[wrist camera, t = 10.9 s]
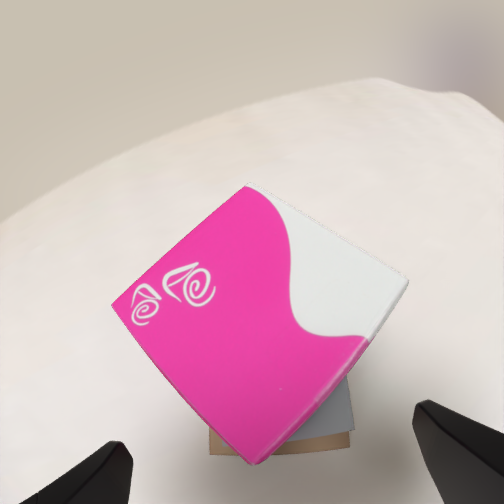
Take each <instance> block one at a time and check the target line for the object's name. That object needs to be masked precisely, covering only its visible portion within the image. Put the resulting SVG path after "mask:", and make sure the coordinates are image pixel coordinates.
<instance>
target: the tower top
mask: <svg viewBox="0 0 504 504" xmlns="http://www.w3.org/2000/svg"><path fill="white" fill-rule="evenodd" d="M351 430H355V428H354V421H353V414H352V408H351V401H350V395H349V389H348V383H347V377H346V376H345V377H344V378H343V380H342V381H341V382H340V383H339V384H338V386H337V387H336V388H335V389H334V390H333V392H332V393H331V394H330V395H329V396H328V397H327V398H326V400H325V401H324V402H323V403H322V404H321V405H320V407H319V408H318V409H317V410H316V411H315V412H314V413H313V414H312V415H311V416H310V417H309V418H308V419H307V420H306V422H305V423H304V424H303V425H302V426H301V427H300V428H299V429H298V430H297V431H296V432H295V433H294V434H293V435H292V436H291V437H290V438H289V439H288V440H287V441H286V442H288V441H295V440H302V439H309V438H315V437H321V436H326V435H332V434H337V433H342V432H346V431H351ZM226 446H228V445H227V444H226V443H225V442H224V441H223V440H222V447H226Z"/></svg>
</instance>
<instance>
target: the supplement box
mask: <svg viewBox="0 0 504 504" xmlns="http://www.w3.org/2000/svg"><path fill="white" fill-rule="evenodd" d="M408 283H409V280H408V279H407V278H406V277H405V276H404V275H402V274H401V273H399V272H397V271H396V270H394V269H393V268H391V267H390V266H388V265H386V264H385V263H383V262H382V261H380V260H378V259H377V258H375V257H374V256H372V255H370V254H369V253H367V252H366V251H364V250H362V249H361V248H359V247H358V246H356V245H354V244H353V243H351V242H349V241H348V240H346V239H345V238H343V237H341V236H340V235H338V234H336V233H335V232H333V231H332V230H330V229H328V228H327V227H325V226H323V225H322V224H320V223H319V222H317V221H315V220H314V219H312V218H311V217H309V216H307V215H306V214H304V213H302V212H301V211H299V210H298V209H296V208H294V207H293V206H291V205H289V204H288V203H286V202H284V201H283V200H281V199H279V198H277V197H276V196H274V195H272V194H271V193H269V192H267V191H266V190H264V189H262V188H260V187H259V186H257V185H255V184H253V183H251V182H250V183H247V184H246V185H245V186H244V187H243V188H242V189H241V190H239V191H238V192H237V193H235V194H234V195H233V196H232V197H231V198H230V199H229V200H227V201H226V202H225V203H224V204H222V205H221V206H220V207H219V208H217V209H216V210H215V211H214V212H213V213H212V214H210V215H209V216H208V217H207V218H206V219H205V220H204V221H202V222H201V223H200V224H199V225H198V226H197V227H195V228H194V229H193V230H192V231H191V232H190V233H189V234H187V235H186V236H185V237H184V238H183V239H182V240H181V241H180V242H178V243H177V244H176V245H175V246H174V247H173V248H172V249H171V250H170V251H168V252H167V253H166V254H165V255H164V256H163V257H162V258H161V259H160V260H159V261H157V262H156V263H155V264H154V265H153V266H152V267H151V268H150V269H148V270H147V271H146V272H145V273H144V274H143V275H142V276H141V277H140V278H139V279H138V280H136V281H135V282H134V283H133V284H132V285H131V286H130V287H129V288H128V289H127V290H126V291H125V292H124V293H123V294H122V295H121V296H119V297H118V298H117V299H116V300H115V301H114V303H113V304H112V305H111V306H112V308H113V309H114V311H115V312H116V313H117V315H118V316H119V318H120V319H121V320H122V322H123V323H124V325H125V326H126V327H127V329H128V330H129V331H130V333H131V334H132V336H133V337H134V338H135V340H136V341H137V342H138V344H139V345H140V346H141V348H142V349H143V350H144V351H145V353H146V354H147V355H148V357H149V358H150V359H151V360H152V362H153V363H154V364H155V366H156V367H157V368H158V369H159V371H160V372H161V373H162V374H163V375H164V377H165V378H166V379H167V380H168V381H169V382H170V384H171V385H172V386H173V387H174V388H175V389H176V390H177V392H178V393H179V394H180V395H181V397H182V398H183V399H184V400H185V401H186V402H187V403H188V404H189V405H190V406H191V408H192V409H193V410H194V411H195V412H196V413H197V414H198V415H199V416H200V417H201V419H202V420H203V421H204V422H205V423H206V424H207V425H208V426H209V427H210V428H211V429H212V430H213V431H214V432H215V433H216V434H217V435H218V436H219V437H220V438H221V439H222V440H223V441H224V442H225V443H226V444H227V445H228V446H229V447H231V448H232V449H233V450H234V451H235V452H236V453H237V454H238V455H239V456H240V457H241V458H242V459H244V460H245V461H246V462H247V463H248V464H249V465H252V466H253V465H257V464H259V463H261V462H263V461H264V460H266V459H267V458H268V457H269V456H270V455H272V454H273V453H274V452H275V451H276V450H277V449H278V448H279V447H280V446H281V445H283V444H284V443H285V442H286V441H287V440H288V439H289V438H290V437H291V436H292V435H293V434H294V433H295V432H296V431H297V430H298V429H299V428H300V427H301V426H302V425H303V424H304V423H305V422H306V420H307V419H308V418H309V417H310V416H311V415H312V414H313V413H314V412H315V411H316V410H317V409H318V408H319V407H320V405H321V404H322V403H323V402H324V401H325V400H326V398H327V397H328V396H329V395H330V394H331V393H332V392H333V390H334V389H335V388H336V387H337V386H338V384H339V383H340V382H341V381H342V380H343V378H344V377H345V376H346V375H347V373H348V372H349V371H350V369H351V368H352V367H353V366H354V364H355V363H356V362H357V360H358V359H359V358H360V356H361V355H362V354H363V352H364V351H365V350H366V348H367V347H368V345H369V344H370V343H371V341H372V340H373V338H374V337H375V336H376V334H377V333H378V331H379V330H380V328H381V327H382V325H383V324H384V323H385V321H386V320H387V318H388V317H389V315H390V314H391V312H392V311H393V309H394V308H395V306H396V304H397V303H398V301H399V300H400V298H401V296H402V295H403V293H404V292H405V290H406V288H407V286H408Z"/></svg>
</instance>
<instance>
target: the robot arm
mask: <svg viewBox="0 0 504 504" xmlns="http://www.w3.org/2000/svg"><path fill="white" fill-rule="evenodd" d="M412 425H413V429H414V432H415V435H416V438H417V440H418V443H419V446H420V449H421V452H422V455H423V458H424V461H425V463H426V466H427V468H428V470H429V472H430V474H431V476H432V478H433V480H434V483H435V485H436V487H437V489H438V491H439V493H440V495H441V497H442V499H443V502H444V504H504V433H501V432H499V431H497V430H494V429H492V428H490V427H488V426H485V425H483V424H481V423H479V422H476V421H474V420H472V419H470V418H467V417H465V416H463V415H461V414H459V413H457V412H455V411H452V410H450V409H448V408H446V407H444V406H442V405H440V404H438V403H436V402H433V401H431V400H424V401H422V402H419V403H417V404H416V406H415V410H414V416H413V421H412ZM132 470H133V458H132V456H131V454H130V453H129V451H128V450H127V448H126V447H125V445H124V444H123V443H122V442H120V441H109V442H108V443H106V444H105V445H104V446H102V447H101V448H100V449H98V450H97V451H96V452H94V453H93V454H92V455H90V456H89V457H87V458H86V459H85V460H83V461H82V462H81V463H79V464H78V465H76V466H75V467H74V468H72V469H71V470H69V471H68V472H66V473H65V474H64V475H62V476H61V477H59V478H58V479H56V480H55V481H53V482H52V483H51V484H49V485H48V486H46V487H45V488H43V489H42V490H40V491H39V492H38V493H35V494H34V495H32V496H31V497H29V498H28V499H26V500H24V501H23V502H21V503H19V504H128V501H129V494H130V486H131V478H132Z"/></svg>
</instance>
